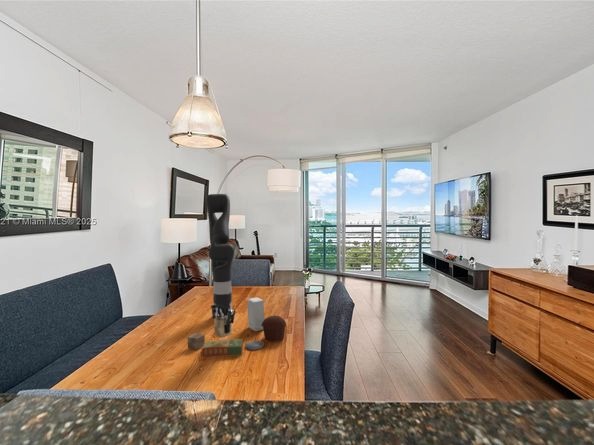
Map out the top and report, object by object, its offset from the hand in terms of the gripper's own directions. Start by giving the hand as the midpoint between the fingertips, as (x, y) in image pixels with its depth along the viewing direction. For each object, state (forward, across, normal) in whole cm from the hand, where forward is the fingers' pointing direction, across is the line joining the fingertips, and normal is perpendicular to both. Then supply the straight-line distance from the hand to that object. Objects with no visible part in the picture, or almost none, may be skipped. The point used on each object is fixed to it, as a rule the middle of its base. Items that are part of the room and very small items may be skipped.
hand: (223, 331), depth 132 cm
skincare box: (+9, -10, +27) cm, 30 cm away
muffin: (+9, +6, +24) cm, 26 cm away
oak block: (+1, 0, 0) cm, 1 cm away
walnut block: (+9, -13, -5) cm, 16 cm away
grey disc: (+9, +6, +12) cm, 16 cm away
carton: (+9, 0, 0) cm, 9 cm away
